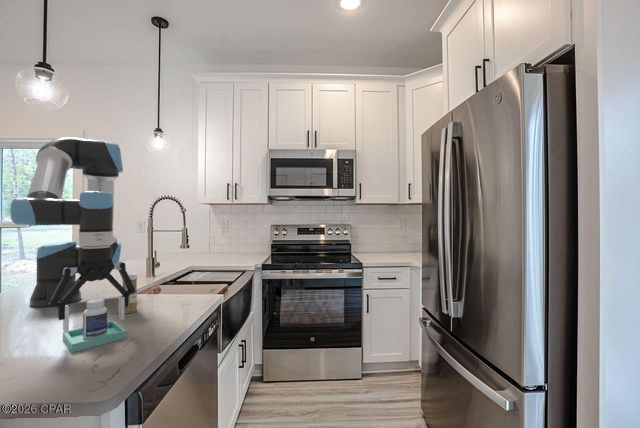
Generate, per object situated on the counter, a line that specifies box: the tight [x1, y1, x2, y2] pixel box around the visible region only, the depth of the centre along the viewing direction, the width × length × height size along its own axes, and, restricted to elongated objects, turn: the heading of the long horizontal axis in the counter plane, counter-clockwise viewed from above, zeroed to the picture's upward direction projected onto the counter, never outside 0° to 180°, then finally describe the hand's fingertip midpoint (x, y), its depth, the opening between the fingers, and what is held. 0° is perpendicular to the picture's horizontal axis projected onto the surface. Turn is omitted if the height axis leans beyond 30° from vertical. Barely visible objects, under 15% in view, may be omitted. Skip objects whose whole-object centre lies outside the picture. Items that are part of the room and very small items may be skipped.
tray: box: [62, 320, 128, 353], centre depth 82 cm, size 12×12×2 cm
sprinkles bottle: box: [121, 272, 138, 314], centre depth 105 cm, size 5×5×14 cm
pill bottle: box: [82, 298, 108, 339], centre depth 83 cm, size 5×5×10 cm
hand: (95, 324), depth 82 cm, fingers open, 12 cm apart
